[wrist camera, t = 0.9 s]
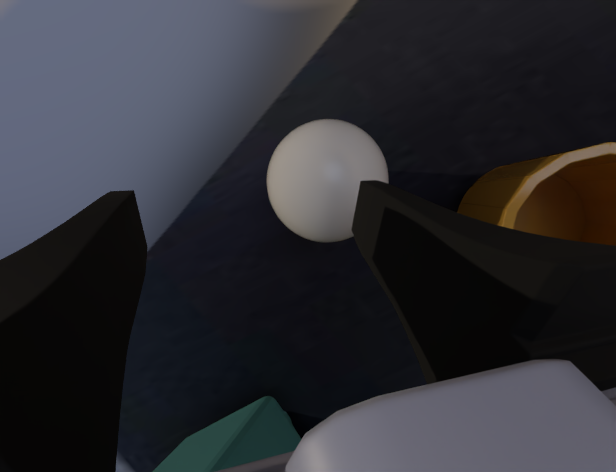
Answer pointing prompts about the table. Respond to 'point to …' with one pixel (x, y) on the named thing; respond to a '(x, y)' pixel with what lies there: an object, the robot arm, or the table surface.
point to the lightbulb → (322, 177)
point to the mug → (551, 195)
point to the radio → (236, 440)
